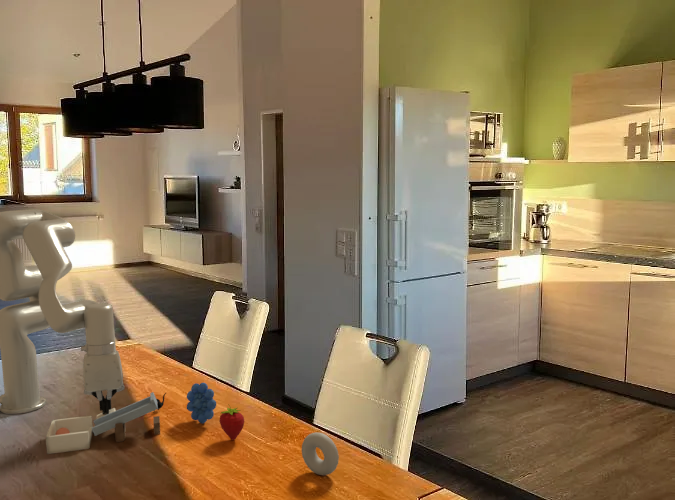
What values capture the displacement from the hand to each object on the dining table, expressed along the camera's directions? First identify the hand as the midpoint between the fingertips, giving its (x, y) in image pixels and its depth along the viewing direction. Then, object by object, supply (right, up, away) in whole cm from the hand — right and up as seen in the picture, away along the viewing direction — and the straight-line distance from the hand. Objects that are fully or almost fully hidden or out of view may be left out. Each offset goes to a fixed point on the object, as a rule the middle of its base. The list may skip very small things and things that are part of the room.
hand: (106, 412), depth 182 cm
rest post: (+15, -4, -4) cm, 16 cm away
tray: (-6, -5, -10) cm, 13 cm away
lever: (+7, 0, -3) cm, 8 cm away
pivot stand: (+6, -5, -6) cm, 10 cm away
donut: (+61, -7, -31) cm, 69 cm away
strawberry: (+37, -5, -11) cm, 39 cm away
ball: (-8, -3, -11) cm, 13 cm away
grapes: (+27, -3, +2) cm, 27 cm away
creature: (+9, -3, +12) cm, 15 cm away
